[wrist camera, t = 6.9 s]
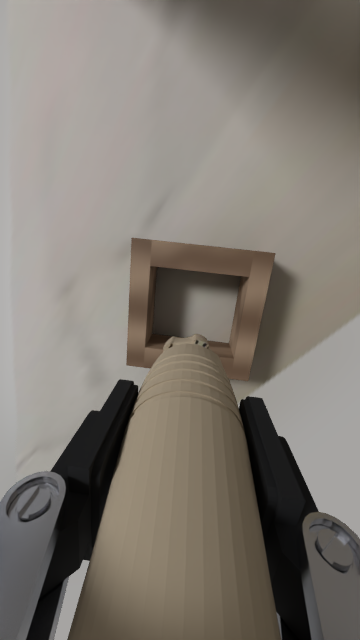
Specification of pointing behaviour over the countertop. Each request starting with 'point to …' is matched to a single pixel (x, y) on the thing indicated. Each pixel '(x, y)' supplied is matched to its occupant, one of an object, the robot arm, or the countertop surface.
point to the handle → (180, 516)
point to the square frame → (204, 259)
